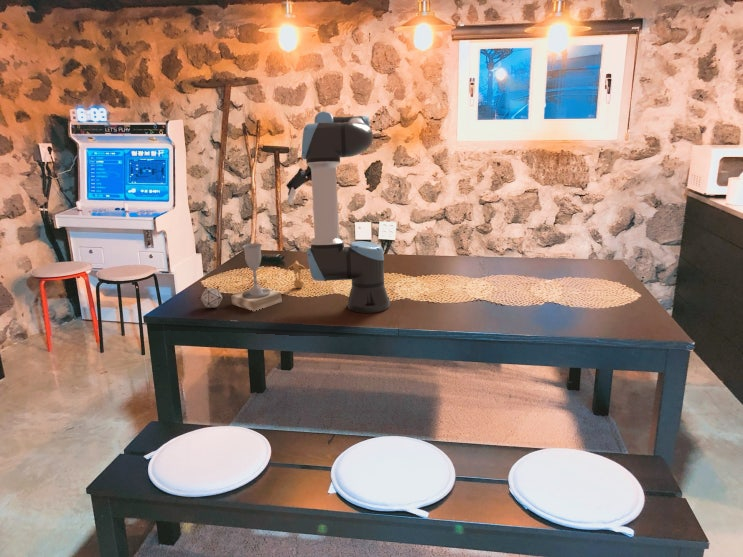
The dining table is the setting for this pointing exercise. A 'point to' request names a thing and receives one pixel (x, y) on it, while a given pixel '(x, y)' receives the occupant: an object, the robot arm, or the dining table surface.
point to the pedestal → (256, 299)
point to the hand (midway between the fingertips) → (304, 203)
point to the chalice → (253, 263)
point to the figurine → (298, 282)
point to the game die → (211, 297)
